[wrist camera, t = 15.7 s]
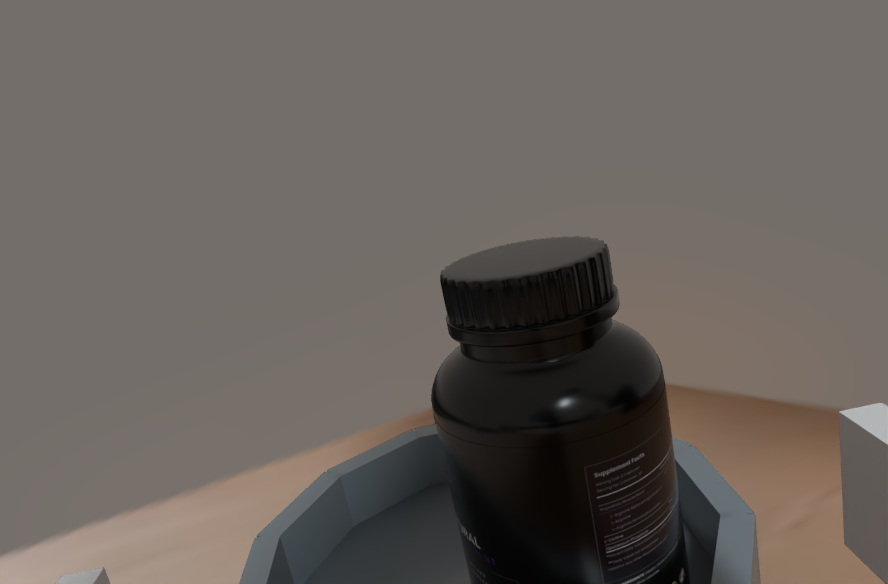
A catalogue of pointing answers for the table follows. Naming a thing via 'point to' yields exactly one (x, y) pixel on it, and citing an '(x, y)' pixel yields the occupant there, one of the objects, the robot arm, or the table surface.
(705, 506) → the bowl
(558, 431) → the supplement bottle
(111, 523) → the table surface
